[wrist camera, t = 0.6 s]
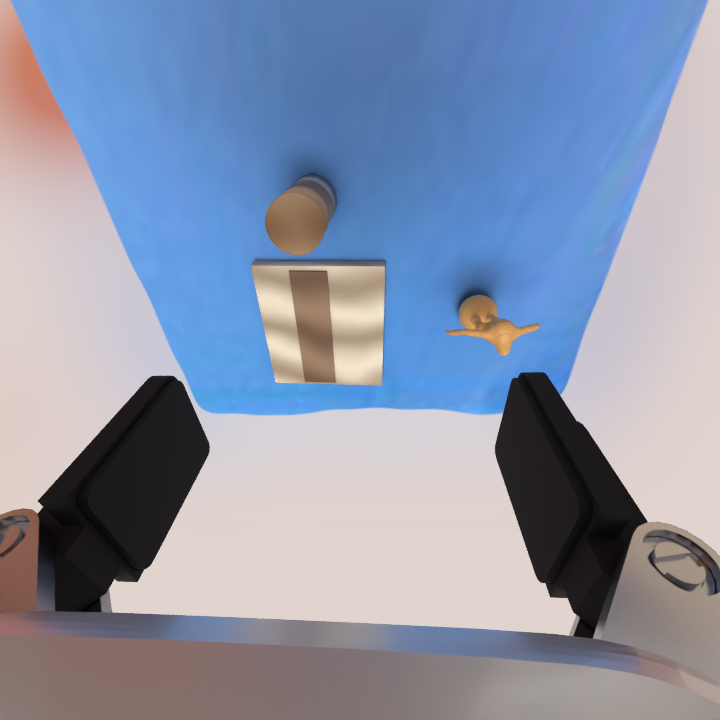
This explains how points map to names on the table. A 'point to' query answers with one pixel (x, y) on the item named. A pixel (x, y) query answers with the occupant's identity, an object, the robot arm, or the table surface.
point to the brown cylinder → (301, 215)
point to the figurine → (488, 323)
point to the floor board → (323, 319)
